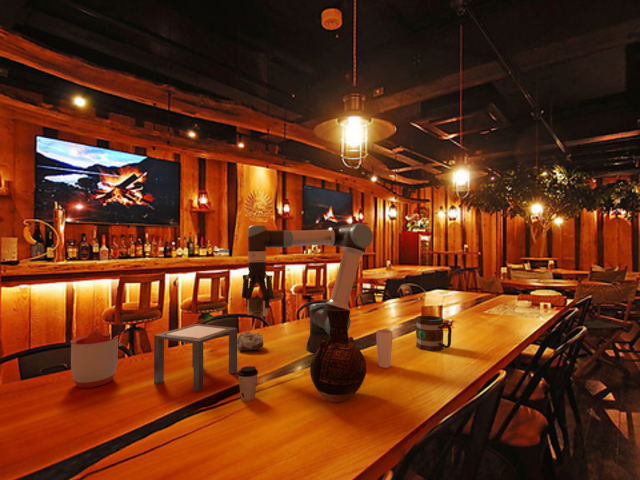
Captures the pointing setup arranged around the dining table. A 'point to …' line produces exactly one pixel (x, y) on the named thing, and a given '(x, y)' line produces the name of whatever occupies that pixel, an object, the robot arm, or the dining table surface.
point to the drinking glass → (384, 347)
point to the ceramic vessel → (338, 361)
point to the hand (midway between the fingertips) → (257, 315)
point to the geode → (249, 341)
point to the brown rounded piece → (256, 305)
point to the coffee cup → (247, 382)
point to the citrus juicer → (94, 359)
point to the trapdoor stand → (194, 353)
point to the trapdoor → (196, 332)
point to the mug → (431, 333)
